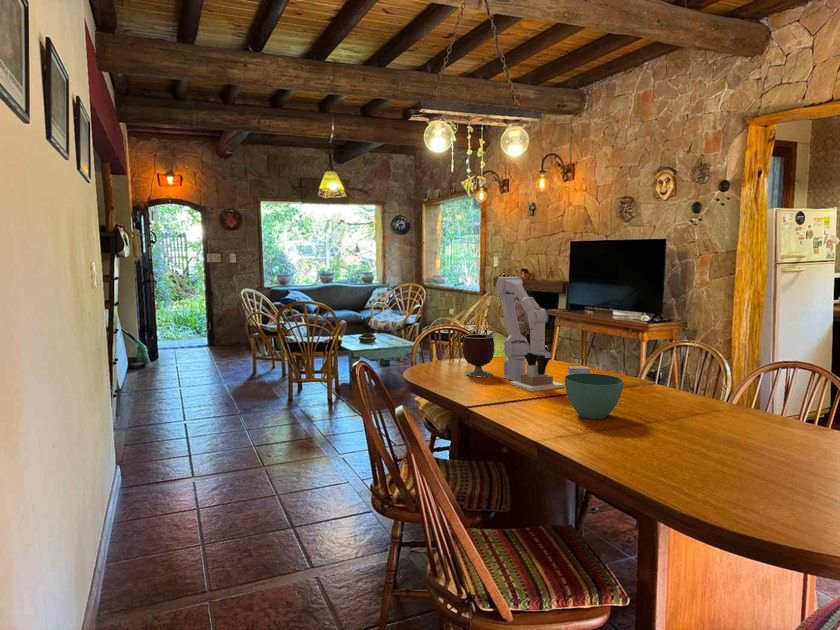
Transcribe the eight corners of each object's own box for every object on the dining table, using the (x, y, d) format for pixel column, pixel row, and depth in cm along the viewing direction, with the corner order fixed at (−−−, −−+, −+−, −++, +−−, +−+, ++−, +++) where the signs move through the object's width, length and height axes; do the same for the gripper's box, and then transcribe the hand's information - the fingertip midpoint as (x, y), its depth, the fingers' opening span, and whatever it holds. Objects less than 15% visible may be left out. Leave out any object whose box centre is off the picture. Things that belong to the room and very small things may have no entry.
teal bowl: (620, 410, 191) (621, 374, 190) (624, 425, 174) (625, 386, 173) (564, 407, 196) (565, 371, 195) (563, 421, 179) (563, 382, 178)
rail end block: (527, 382, 229) (527, 365, 229) (539, 381, 232) (539, 364, 231) (533, 384, 226) (533, 367, 225) (545, 383, 228) (545, 365, 228)
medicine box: (587, 388, 225) (588, 366, 224) (590, 390, 221) (590, 368, 220) (567, 387, 226) (567, 366, 225) (569, 390, 221) (569, 368, 221)
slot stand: (510, 384, 232) (510, 374, 232) (541, 380, 239) (542, 370, 239) (530, 391, 219) (531, 380, 219) (564, 387, 226) (564, 376, 226)
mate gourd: (459, 376, 248) (459, 331, 246) (466, 370, 262) (466, 327, 260) (495, 378, 244) (495, 332, 242) (500, 372, 257) (500, 328, 255)
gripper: (518, 337, 232) (517, 370, 233) (540, 342, 219) (540, 377, 220) (532, 336, 235) (532, 369, 237) (555, 341, 222) (554, 375, 224)
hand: (536, 373), depth 229 cm, fingers open, 5 cm apart
